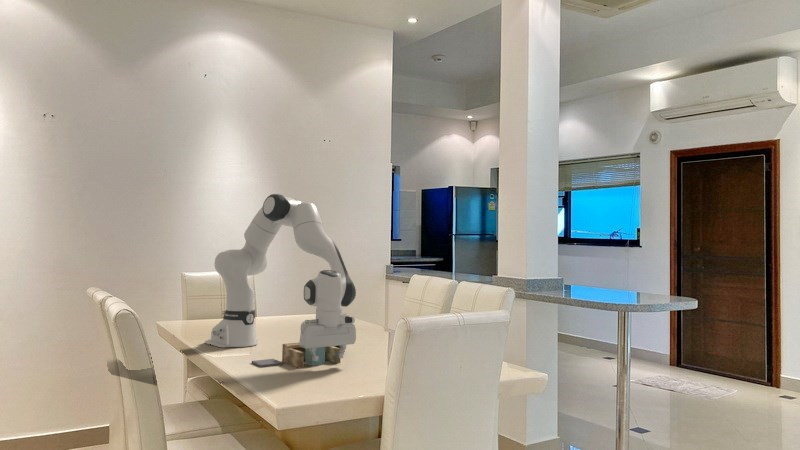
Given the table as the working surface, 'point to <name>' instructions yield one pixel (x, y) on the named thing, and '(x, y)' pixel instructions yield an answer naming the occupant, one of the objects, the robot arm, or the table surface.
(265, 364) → the pad
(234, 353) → the table surface
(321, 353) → the block
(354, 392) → the table surface
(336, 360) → the wooden u-shaped holder
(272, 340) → the table surface
